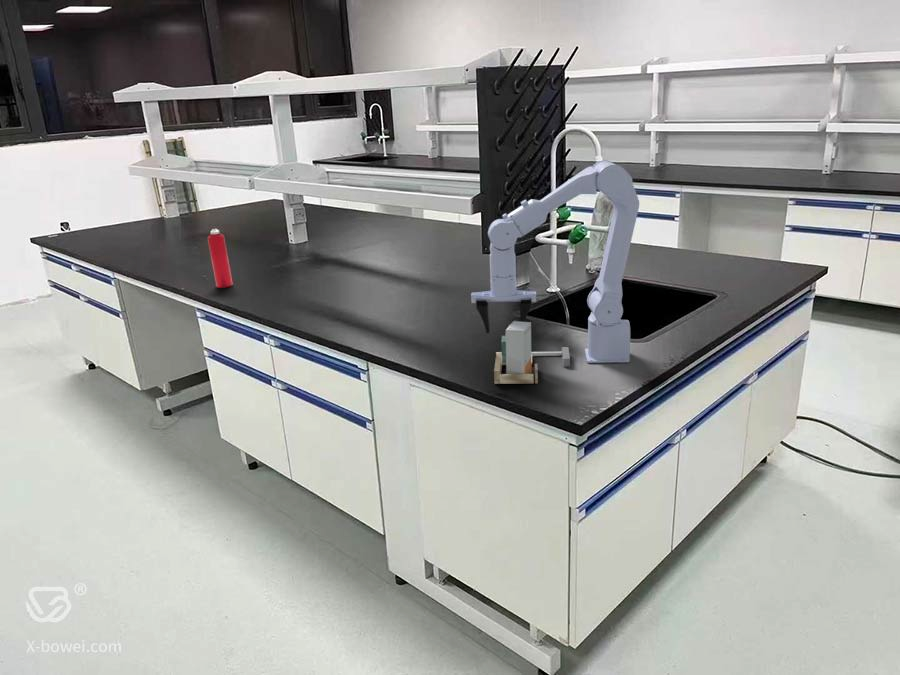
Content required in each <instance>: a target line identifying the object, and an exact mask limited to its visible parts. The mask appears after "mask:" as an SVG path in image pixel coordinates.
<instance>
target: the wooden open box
mask: <svg viewBox="0 0 900 675" xmlns="http://www.w3.org/2000/svg"><path fill="white" fill-rule="evenodd" d="M500 344H501V346H500V347H501V352H502V353H498V354H497V356H495V360H494V361H495V362H494V368H493V378H494V382H493V383H494V385H495V384H496V385H497V384H498V385H500V384H503V385H504V384H511V385H512V384H521V385H522V384H523V385H524V384H527V385H528V384H538V382H539V379H538V378H539V377H538V376H539V375H538V372H539V371H538V363H534V373H530V374H506V373H502V369H503V366H506V335H501V343H500ZM532 365H533V356H532V355H531V366H532Z"/></svg>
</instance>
